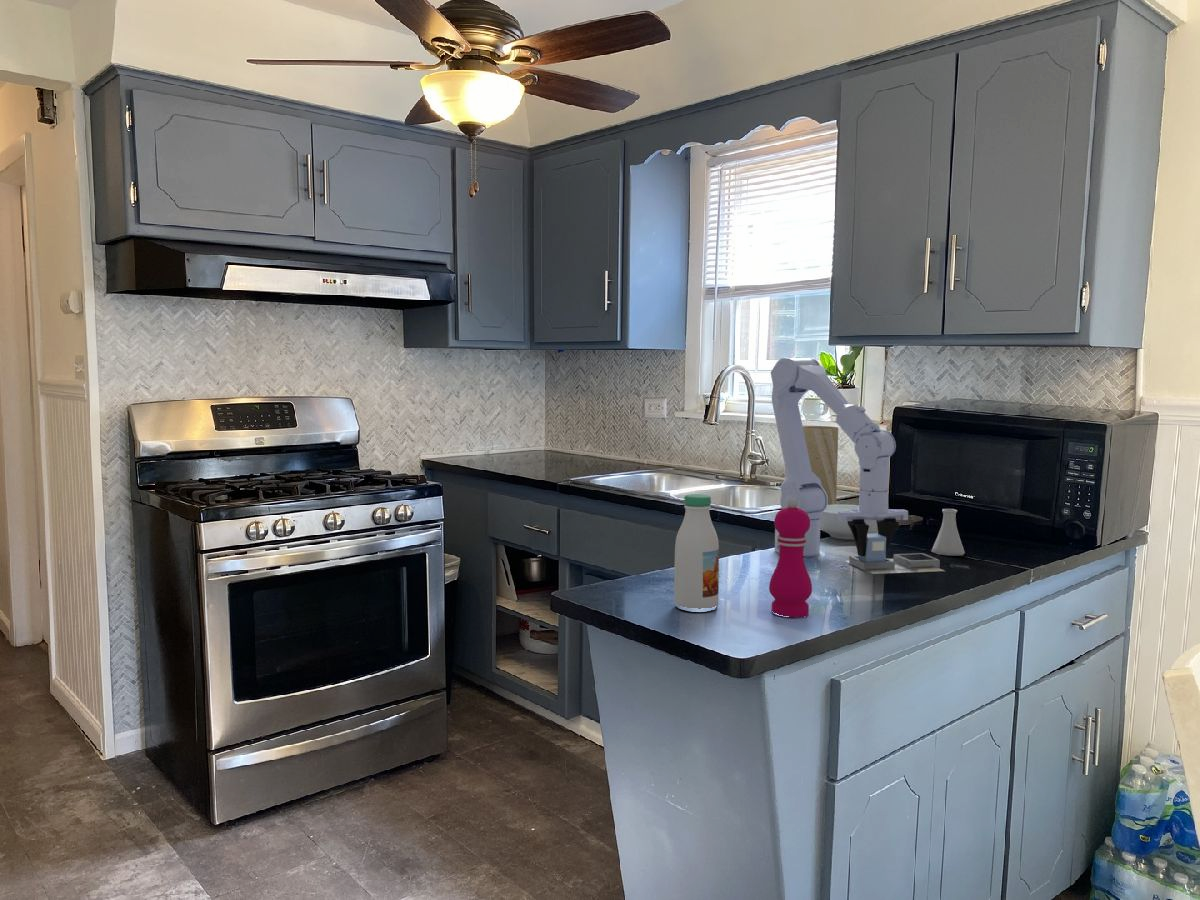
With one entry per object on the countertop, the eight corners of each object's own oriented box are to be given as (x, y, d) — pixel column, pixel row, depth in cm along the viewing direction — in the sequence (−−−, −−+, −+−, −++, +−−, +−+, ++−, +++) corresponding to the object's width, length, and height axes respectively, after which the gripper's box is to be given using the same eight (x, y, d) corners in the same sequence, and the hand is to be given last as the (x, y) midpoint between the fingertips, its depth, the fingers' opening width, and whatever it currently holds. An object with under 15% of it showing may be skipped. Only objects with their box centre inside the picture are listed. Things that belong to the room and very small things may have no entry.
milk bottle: (687, 616, 152) (689, 499, 150) (666, 604, 159) (667, 493, 157) (726, 611, 155) (728, 497, 153) (704, 600, 162) (705, 491, 160)
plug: (868, 569, 181) (869, 538, 180) (858, 564, 186) (858, 533, 185) (886, 569, 182) (887, 537, 181) (875, 563, 186) (876, 533, 186)
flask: (968, 557, 198) (970, 513, 197) (933, 556, 199) (935, 511, 198) (961, 550, 205) (963, 507, 204) (928, 549, 206) (930, 506, 205)
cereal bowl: (896, 538, 219) (897, 510, 218) (851, 546, 209) (852, 516, 209) (842, 527, 233) (843, 501, 232) (797, 534, 223) (798, 506, 223)
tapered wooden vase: (791, 515, 251) (794, 427, 249) (815, 511, 257) (817, 425, 255) (820, 520, 243) (822, 429, 241) (843, 516, 249) (846, 427, 247)
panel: (869, 578, 178) (870, 566, 178) (843, 565, 190) (843, 553, 189) (946, 575, 181) (947, 562, 180) (915, 562, 192) (916, 550, 192)
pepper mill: (803, 621, 148) (806, 503, 146) (762, 615, 152) (764, 499, 150) (817, 611, 154) (820, 497, 152) (777, 605, 158) (780, 494, 156)
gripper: (849, 493, 177) (847, 560, 179) (916, 491, 180) (914, 557, 181) (834, 488, 184) (832, 553, 186) (899, 487, 187) (896, 550, 188)
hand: (871, 555), depth 184 cm, fingers closed on plug, 4 cm apart
